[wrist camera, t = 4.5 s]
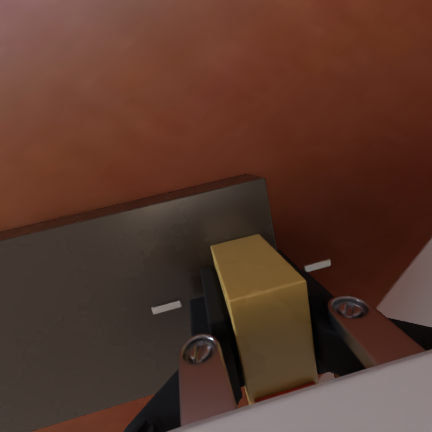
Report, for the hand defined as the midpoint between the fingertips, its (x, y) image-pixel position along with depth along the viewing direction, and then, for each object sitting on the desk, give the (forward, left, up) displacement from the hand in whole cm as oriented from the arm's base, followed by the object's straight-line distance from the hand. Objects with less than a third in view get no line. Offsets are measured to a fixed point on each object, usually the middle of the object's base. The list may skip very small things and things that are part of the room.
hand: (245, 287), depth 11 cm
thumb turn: (0, 0, 0) cm, 0 cm away
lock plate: (+3, +5, -3) cm, 7 cm away
